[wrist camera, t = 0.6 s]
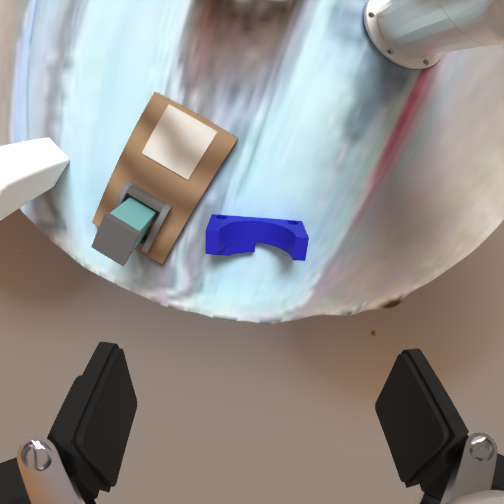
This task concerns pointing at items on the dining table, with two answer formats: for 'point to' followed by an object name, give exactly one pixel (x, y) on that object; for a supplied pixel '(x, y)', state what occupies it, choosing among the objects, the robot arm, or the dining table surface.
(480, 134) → the dining table surface
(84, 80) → the dining table surface
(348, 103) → the dining table surface
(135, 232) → the plug
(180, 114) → the board
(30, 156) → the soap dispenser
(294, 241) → the cable clip
